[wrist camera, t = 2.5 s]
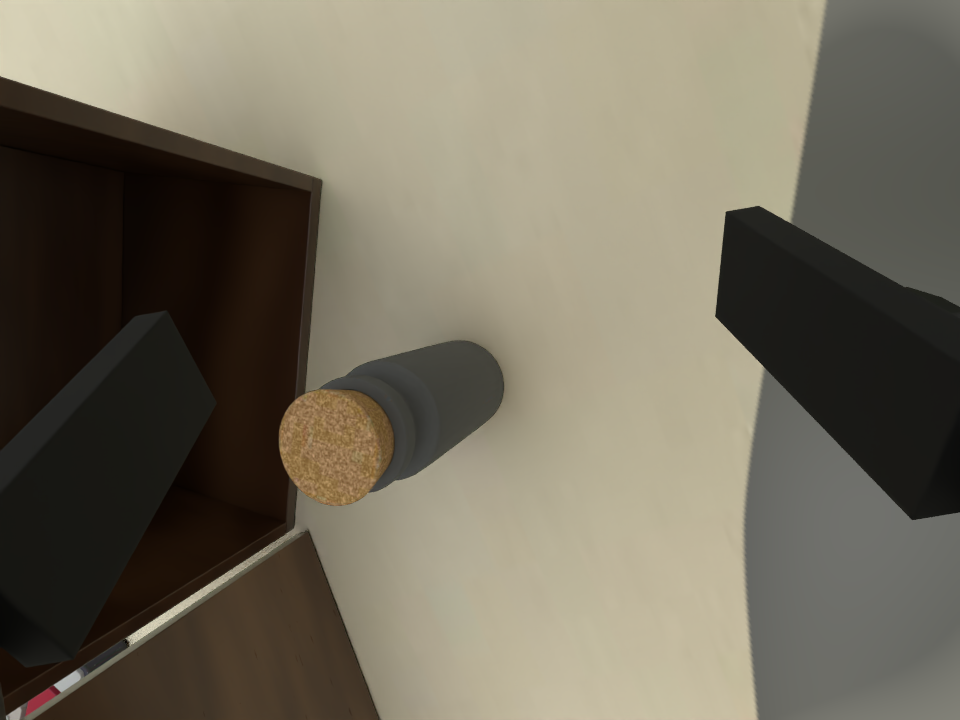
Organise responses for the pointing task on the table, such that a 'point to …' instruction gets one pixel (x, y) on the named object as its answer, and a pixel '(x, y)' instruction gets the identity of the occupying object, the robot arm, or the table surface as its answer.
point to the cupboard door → (235, 655)
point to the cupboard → (149, 289)
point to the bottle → (387, 419)
